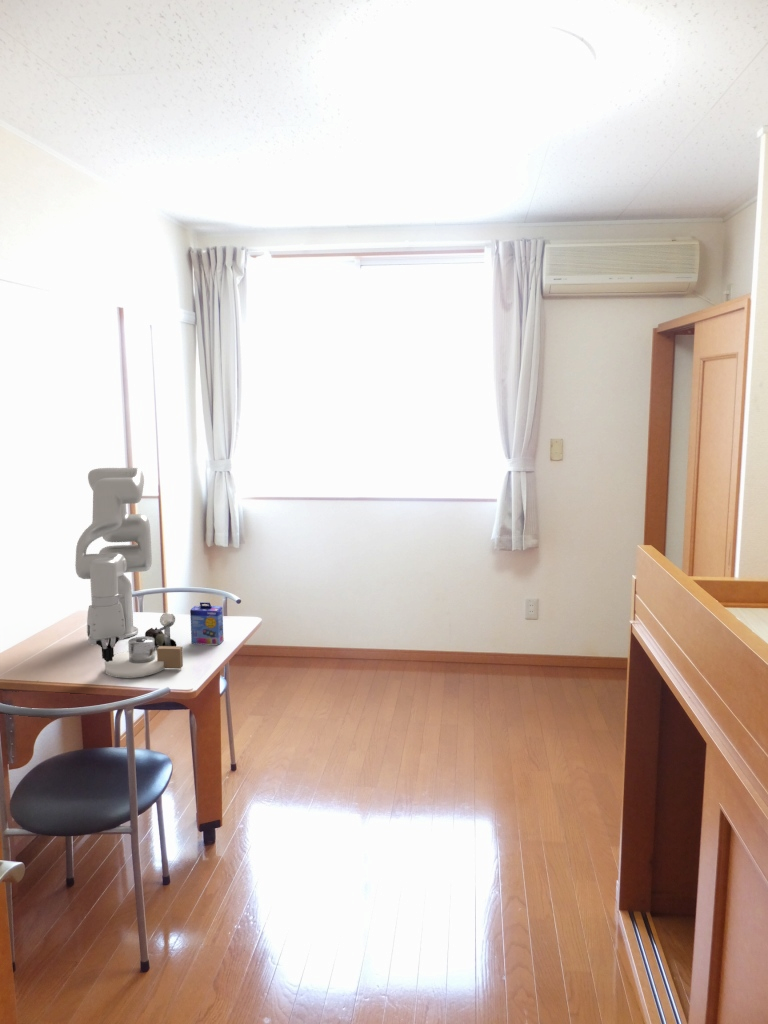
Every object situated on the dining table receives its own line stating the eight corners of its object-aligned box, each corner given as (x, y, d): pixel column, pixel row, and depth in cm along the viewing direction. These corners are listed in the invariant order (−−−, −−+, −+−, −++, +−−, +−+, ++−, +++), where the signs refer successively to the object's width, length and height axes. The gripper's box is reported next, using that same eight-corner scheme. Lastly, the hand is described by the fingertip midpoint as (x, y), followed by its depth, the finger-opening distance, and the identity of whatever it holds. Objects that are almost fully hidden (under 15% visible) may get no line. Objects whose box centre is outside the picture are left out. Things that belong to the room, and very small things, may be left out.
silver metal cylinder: (134, 665, 221) (133, 645, 220) (125, 658, 227) (124, 638, 226) (159, 659, 226) (158, 640, 225) (149, 653, 232) (148, 634, 231)
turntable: (95, 677, 218) (93, 656, 217) (119, 656, 236) (118, 637, 235) (171, 678, 217) (171, 657, 216) (190, 657, 235) (190, 638, 234)
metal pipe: (177, 650, 243) (175, 634, 242) (156, 655, 239) (155, 637, 238) (160, 640, 257) (159, 624, 257) (141, 643, 254) (139, 627, 253)
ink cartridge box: (190, 644, 250) (189, 603, 248) (195, 639, 255) (194, 598, 253) (219, 645, 249) (217, 603, 247) (224, 640, 254) (222, 599, 252)
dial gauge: (150, 655, 239) (148, 613, 237) (172, 650, 243) (170, 609, 242) (156, 659, 235) (154, 617, 233) (178, 654, 239) (177, 613, 237)
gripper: (126, 594, 226) (128, 651, 228) (75, 601, 216) (78, 661, 219) (134, 599, 220) (137, 658, 222) (82, 607, 211) (86, 669, 213)
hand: (108, 660), depth 221 cm, fingers closed
